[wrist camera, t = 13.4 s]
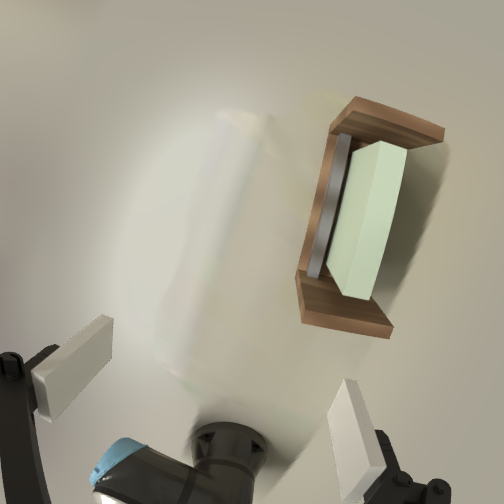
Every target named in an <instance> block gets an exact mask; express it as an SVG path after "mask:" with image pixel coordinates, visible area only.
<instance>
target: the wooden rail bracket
mask: <svg viewBox="0 0 504 504" xmlns="http://www.w3.org/2000/svg"><path fill="white" fill-rule="evenodd" d="M444 132H445V128H442V127H440V126H438V125H436V124H433V123H431V122H428V121H426V120H424V119H421V118H418V117H416V116H413V115H411V114H408V113H405V112H403V111H399V110H397V109H394V108H391V107H388V106H385V105H383V104H380V103H376V102H373V101H370V100H367V99H364V98H360V97H357V96H355V97H354V98H353V100H352V101H351V102H350V103H349V104H348V105H347V106H346V107H345V109H344V110H343V111H342V112H341V113H340V114H339V115H338V117H337V118H336V119H335V120H334V121H333V122H332V123H331V125H330V129H329V134H328V139H327V144H326V148H325V153H324V158H323V162H322V167H321V172H320V176H319V181H318V185H317V190H316V194H315V198H314V203H313V207H312V211H311V215H310V220H309V224H308V228H307V232H306V236H305V240H304V244H303V248H302V252H301V256H300V260H299V264H298V268H297V272H296V276H295V280H296V287H297V294H298V301H299V308H300V315H301V322H302V323H304V324H309V325H314V326H319V327H324V328H329V329H334V330H339V331H345V332H350V333H356V334H361V335H367V336H373V337H379V338H385V339H389V338H390V335H391V333H392V330H393V328H394V326H393V325H392V324H391V322H390V321H389V320H388V318H387V317H386V315H385V314H384V313H383V311H382V310H381V309H380V307H379V306H378V305H377V303H376V302H375V301H374V299H373V298H372V297H371V296H370V299H369V300H364V299H360V298H355V297H350V296H345V295H342V293H341V291H340V289H339V287H338V285H337V283H336V281H335V280H334V278H333V276H332V274H331V272H330V270H329V268H328V267H327V265H326V263H325V259H326V255H327V251H328V248H329V244H330V240H331V236H332V232H333V228H334V224H335V220H336V216H337V212H338V208H339V203H340V199H341V195H342V190H343V186H344V182H345V177H346V173H347V168H348V163H349V158H350V154H351V153H352V152H354V151H356V150H359V149H361V148H364V147H366V146H369V145H371V144H374V143H376V142H379V141H383V142H386V143H389V144H392V145H395V146H398V147H401V148H404V149H407V150H408V149H413V148H417V147H422V146H426V145H431V144H435V143H440V142H443V139H444Z"/></svg>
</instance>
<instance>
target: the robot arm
mask: <svg viewBox="0 0 504 504" xmlns="http://www.w3.org/2000/svg"><path fill="white" fill-rule="evenodd" d="M112 335H113V318H111V317H108V316H105V315H103V314H102V315H101V316H99V317H98V318H97V319H95V320H94V321H93V322H91V323H90V324H89V325H88V326H86V327H85V328H84V329H82V330H81V331H80V332H79V333H78V334H76V335H75V336H73V337H72V338H71V339H70V340H68V341H67V342H66V343H65V344H63V345H62V346H61V347H60V346H58V345H56V344H54V345H51V346H48V347H46V348H44V349H43V350H42V351H41V352H40V353H38V354H36V355H35V356H34V357H33V358H31V359H30V360H29V361H27V362H26V363H25V364H24V363H23V359H22V357H21V356H20V355H19V354H17V353H15V352H4V353H2V354H0V458H1V459H0V460H1V469H2V478H3V485H4V492H5V498H6V504H51V500H50V497H49V493H48V489H47V485H46V481H45V476H44V472H43V467H42V463H41V458H40V452H39V447H38V441H37V435H36V427H35V419H34V414H33V412H34V411H35V410H36V409H37V408H38V412H39V416H40V417H42V418H43V419H45V420H47V421H49V422H50V423H53V422H54V421H55V420H56V419H57V418H58V417H59V415H60V414H61V413H62V412H63V411H64V410H65V409H66V408H67V407H68V405H69V404H70V403H71V402H72V401H73V400H74V399H75V398H76V397H77V395H78V394H79V393H80V392H81V391H82V390H83V389H84V388H85V387H86V385H87V384H88V383H89V382H90V381H91V380H92V379H93V378H94V377H95V376H96V375H97V373H98V372H99V371H100V370H101V369H102V368H103V367H104V366H105V365H106V364H107V363H108V361H110V359H111V358H112ZM327 418H328V423H329V429H330V434H331V440H332V446H333V452H334V458H335V463H336V469H337V475H338V481H339V488H340V494H341V501H342V503H357V502H358V501H359V500H360V499H361V498H362V497H364V501H365V503H364V504H450V503H451V487H450V486H449V484H448V483H447V482H446V481H444V480H442V479H432V480H431V481H430V482H429V483H428V484H427V485H425V484H420V483H415V482H413V479H412V478H411V476H410V475H409V474H407V473H406V472H403V471H401V470H400V467H399V464H398V461H397V459H396V456H395V453H394V451H393V448H392V446H391V443H390V440H389V438H388V436H387V435H386V434H385V433H384V432H383V431H382V430H374V428H373V425H372V422H371V419H370V416H369V413H368V411H367V408H366V405H365V402H364V400H363V397H362V395H361V391H360V389H359V386H358V383H357V381H356V380H349V379H344V380H343V382H342V384H341V387H340V389H339V391H338V393H337V395H336V397H335V399H334V402H333V404H332V406H331V408H330V410H329V412H328V414H327ZM266 452H267V446H266V443H265V441H264V439H263V438H262V437H261V436H260V435H259V434H258V433H257V432H255V431H254V430H252V429H250V428H248V427H246V426H243V425H240V424H235V423H228V422H218V423H212V424H208V425H205V426H203V427H202V428H200V429H199V430H198V431H197V432H196V434H195V436H194V439H193V442H192V457H193V465H194V468H193V467H191V466H188V465H186V464H184V463H181V462H179V461H177V460H175V459H173V458H171V457H168V456H166V455H164V454H162V453H160V452H158V451H156V450H154V449H152V448H150V447H149V446H148V445H143V444H141V443H139V442H137V441H135V440H133V439H130V438H121V439H119V440H117V441H116V442H115V443H114V444H113V445H112V446H111V447H110V448H109V449H108V450H107V452H106V453H105V454H104V455H103V457H102V458H101V459H100V461H99V462H98V464H97V467H95V469H94V470H93V472H92V474H91V476H90V479H89V481H90V483H91V484H92V486H94V487H95V489H94V490H93V492H92V497H93V499H94V502H95V504H252V500H253V491H254V481H255V478H256V476H257V474H258V472H259V471H260V469H261V467H262V466H263V464H264V462H265V459H266Z"/></svg>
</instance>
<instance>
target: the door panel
mask: <svg viewBox="0 0 504 504" xmlns="http://www.w3.org/2000/svg"><path fill="white" fill-rule="evenodd" d="M406 155H407V149H404V148H401V147H398V146H395V145H392V144H389V143H386V142H383V141H379V142H376V143H374V144H371V145H369V146H366V147H364V148H361V149H359V150H356V151H354V152H352V153H351V154H350V158H349V163H348V168H347V173H346V177H345V182H344V186H343V190H342V195H341V199H340V203H339V208H338V212H337V216H336V220H335V224H334V228H333V232H332V236H331V240H330V244H329V248H328V251H327V255H326V259H325V263H326V265H327V267H328V268H329V270H330V272H331V274H332V276H333V278H334V280H335V281H336V283H337V285H338V287H339V289H340V291H341V293H342V295H345V296H350V297H355V298H360V299H364V300H369V299H370V296H371V293H372V290H373V286H374V283H375V280H376V277H377V274H378V270H379V267H380V264H381V260H382V257H383V253H384V250H385V246H386V242H387V239H388V235H389V231H390V227H391V224H392V220H393V216H394V211H395V207H396V203H397V199H398V194H399V190H400V185H401V181H402V176H403V171H404V166H405V161H406Z"/></svg>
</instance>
